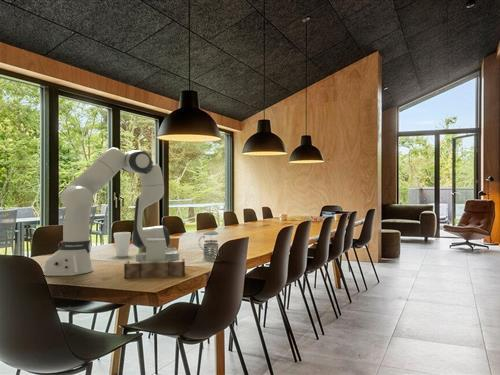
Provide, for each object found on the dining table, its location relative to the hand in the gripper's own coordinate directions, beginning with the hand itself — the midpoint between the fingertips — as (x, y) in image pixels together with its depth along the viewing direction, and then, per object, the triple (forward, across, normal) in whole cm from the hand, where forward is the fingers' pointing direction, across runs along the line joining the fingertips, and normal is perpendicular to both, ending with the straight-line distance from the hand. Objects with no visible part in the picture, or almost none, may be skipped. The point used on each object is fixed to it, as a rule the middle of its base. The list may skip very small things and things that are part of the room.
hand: (157, 259), depth 196 cm
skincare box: (+10, 0, +5) cm, 11 cm away
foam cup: (-50, -22, +5) cm, 55 cm away
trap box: (+12, 0, +5) cm, 13 cm away
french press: (-27, +26, +5) cm, 38 cm away
